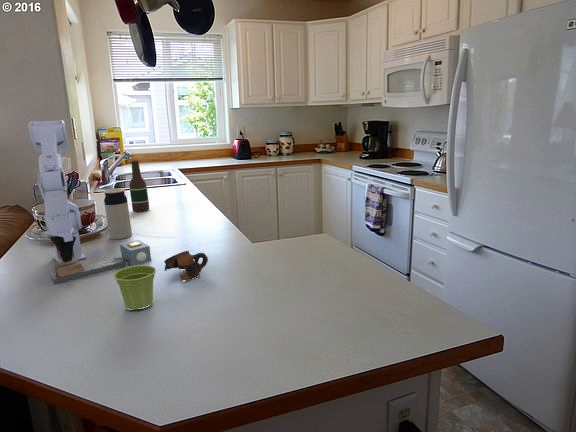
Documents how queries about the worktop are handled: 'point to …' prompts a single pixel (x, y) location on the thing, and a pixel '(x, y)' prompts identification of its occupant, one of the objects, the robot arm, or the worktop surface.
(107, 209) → the travel mug
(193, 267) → the pottery mug
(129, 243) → the button
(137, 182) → the beer bottle
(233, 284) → the worktop surface
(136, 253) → the blue grey control box
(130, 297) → the plant pot
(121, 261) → the rail
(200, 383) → the worktop surface
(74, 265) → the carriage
